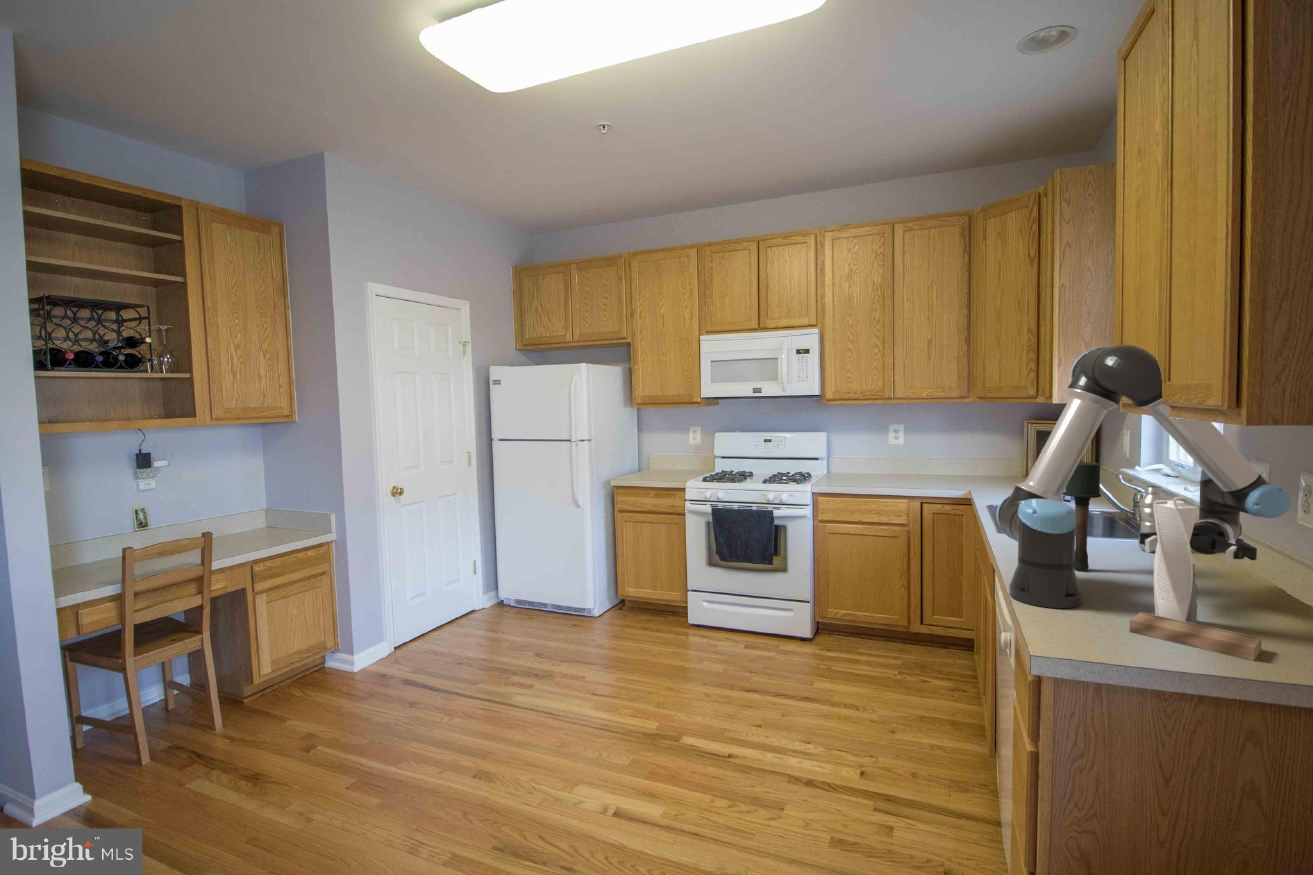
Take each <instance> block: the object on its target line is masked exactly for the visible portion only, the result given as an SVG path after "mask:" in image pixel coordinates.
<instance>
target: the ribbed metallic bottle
mask: <svg viewBox="0 0 1313 875" xmlns="http://www.w3.org/2000/svg"><path fill="white" fill-rule="evenodd" d="M1144 492H1145V493H1146V494H1144V495H1143V497H1141V499H1140V500H1139V504H1138V505H1139V512H1140V520H1141V522H1140V523H1141V524H1140V532H1139V534H1140V533H1148V532H1157V531H1156V524H1155V516H1154V507H1153V502H1154V501H1156V500H1165V499H1164V497H1163V496H1162V495H1161V494H1162V486H1158V485H1157V486H1156V485H1146V486H1145V490H1144ZM1155 504H1167V502H1157V503H1155ZM1137 542H1138V546H1139V548H1140V549H1141V550H1143V551H1145V546H1144V545H1143V544H1140V535H1139V537H1138V541H1137ZM1150 553H1156V549H1154V550H1152V551H1151V552H1150Z"/></svg>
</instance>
